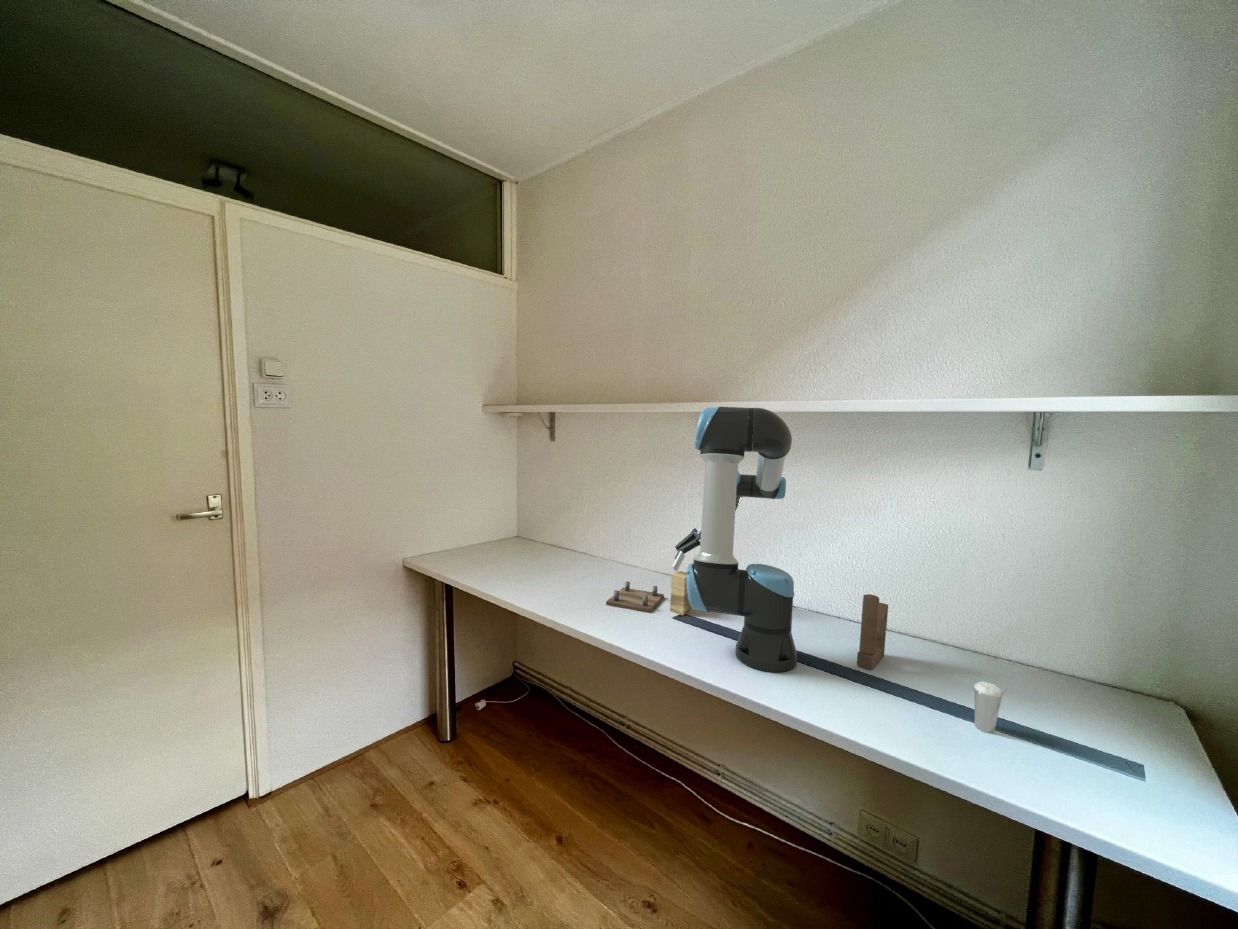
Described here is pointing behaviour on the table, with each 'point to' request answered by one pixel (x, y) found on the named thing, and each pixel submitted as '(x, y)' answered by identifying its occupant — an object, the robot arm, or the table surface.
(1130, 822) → the table surface
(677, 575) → the oak post
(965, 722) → the table surface
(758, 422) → the robot arm
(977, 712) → the milkshake
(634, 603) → the peg plate
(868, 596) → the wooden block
